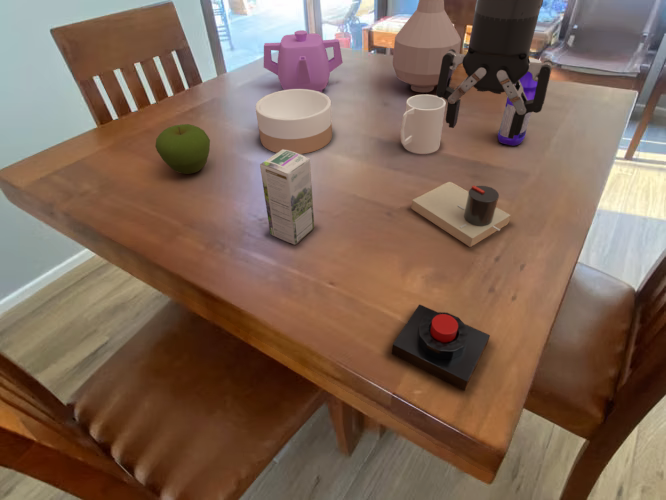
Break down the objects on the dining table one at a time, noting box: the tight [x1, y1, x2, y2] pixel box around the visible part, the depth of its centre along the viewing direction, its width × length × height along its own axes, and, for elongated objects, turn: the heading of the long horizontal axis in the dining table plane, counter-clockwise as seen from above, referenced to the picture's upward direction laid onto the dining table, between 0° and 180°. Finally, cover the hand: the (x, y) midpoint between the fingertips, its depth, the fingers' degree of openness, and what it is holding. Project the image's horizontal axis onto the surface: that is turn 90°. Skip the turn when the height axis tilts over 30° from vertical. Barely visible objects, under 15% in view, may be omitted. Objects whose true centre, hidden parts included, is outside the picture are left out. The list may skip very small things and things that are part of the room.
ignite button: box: [430, 314, 458, 343], centre depth 54 cm, size 3×3×2 cm
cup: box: [399, 94, 447, 155], centre depth 94 cm, size 8×12×10 cm
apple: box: [154, 123, 211, 175], centre depth 90 cm, size 11×10×10 cm
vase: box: [392, 0, 462, 93], centre depth 113 cm, size 18×18×30 cm
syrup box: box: [259, 149, 315, 246], centre depth 72 cm, size 6×6×14 cm
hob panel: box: [411, 181, 512, 248], centre depth 77 cm, size 16×10×2 cm, turn 36°
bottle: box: [497, 57, 543, 146], centre depth 93 cm, size 7×6×17 cm
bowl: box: [255, 89, 333, 155], centre depth 101 cm, size 17×17×8 cm
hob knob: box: [464, 185, 500, 226], centre depth 73 cm, size 5×5×5 cm
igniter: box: [391, 304, 491, 391], centre depth 56 cm, size 10×8×4 cm
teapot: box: [263, 29, 344, 93], centre depth 122 cm, size 19×18×15 cm
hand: (481, 131), depth 64 cm, fingers open, 8 cm apart
